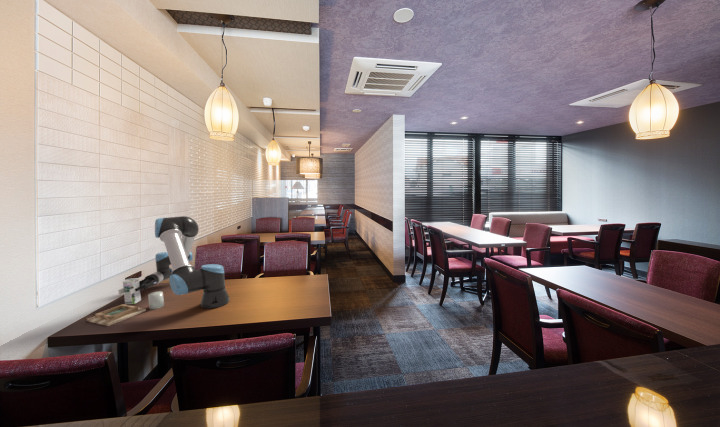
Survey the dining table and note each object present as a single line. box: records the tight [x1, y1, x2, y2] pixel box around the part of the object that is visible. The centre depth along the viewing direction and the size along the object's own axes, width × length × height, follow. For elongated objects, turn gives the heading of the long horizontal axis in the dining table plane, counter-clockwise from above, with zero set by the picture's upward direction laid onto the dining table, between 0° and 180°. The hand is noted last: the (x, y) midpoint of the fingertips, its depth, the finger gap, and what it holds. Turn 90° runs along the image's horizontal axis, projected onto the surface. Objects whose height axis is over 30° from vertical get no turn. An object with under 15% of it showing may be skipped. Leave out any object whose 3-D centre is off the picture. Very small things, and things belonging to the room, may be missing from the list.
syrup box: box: [122, 277, 142, 305], centre depth 171 cm, size 6×6×14 cm
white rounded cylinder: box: [147, 290, 165, 310], centre depth 164 cm, size 7×7×8 cm
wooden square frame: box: [86, 303, 147, 327], centre depth 153 cm, size 18×18×3 cm
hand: (124, 292), depth 165 cm, fingers closed on syrup box, 6 cm apart
